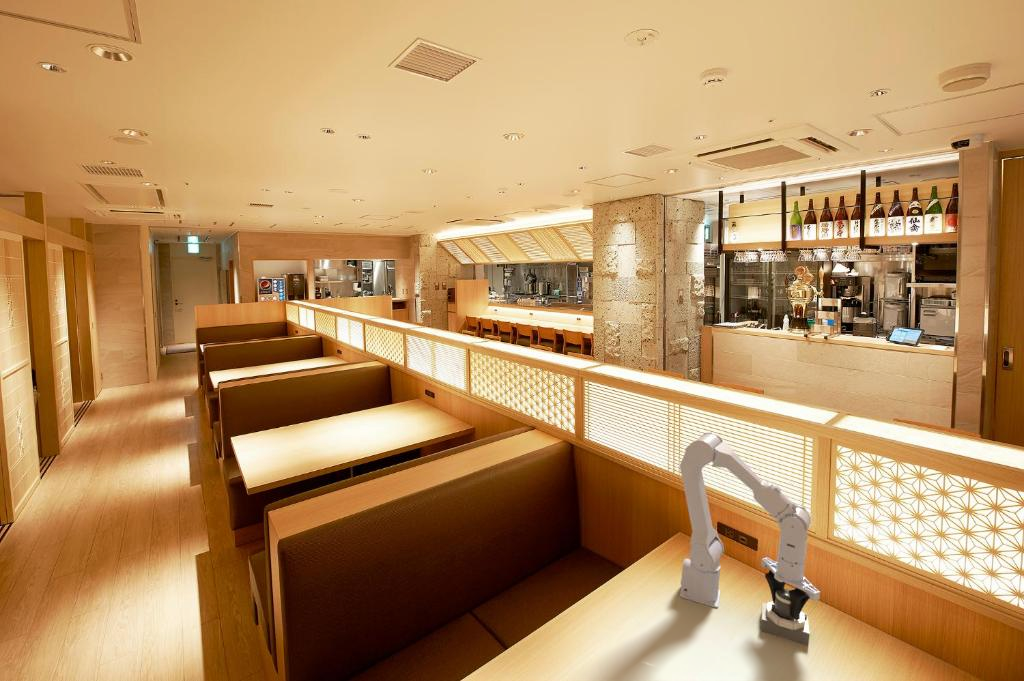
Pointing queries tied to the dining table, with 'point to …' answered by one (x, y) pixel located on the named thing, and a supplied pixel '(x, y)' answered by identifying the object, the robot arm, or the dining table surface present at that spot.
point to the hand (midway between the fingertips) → (785, 609)
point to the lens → (783, 604)
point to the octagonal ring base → (785, 624)
